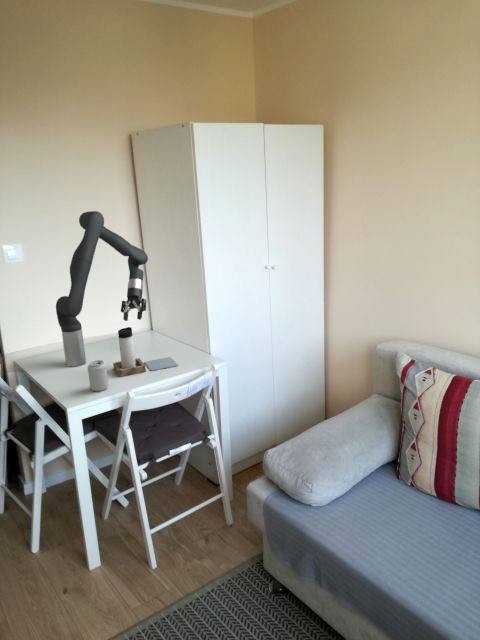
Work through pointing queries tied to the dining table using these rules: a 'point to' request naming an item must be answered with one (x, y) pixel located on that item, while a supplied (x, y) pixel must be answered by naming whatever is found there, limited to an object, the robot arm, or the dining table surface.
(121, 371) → the frame
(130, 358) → the travel mug
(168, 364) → the rubber mat
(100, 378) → the can
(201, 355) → the dining table surface
